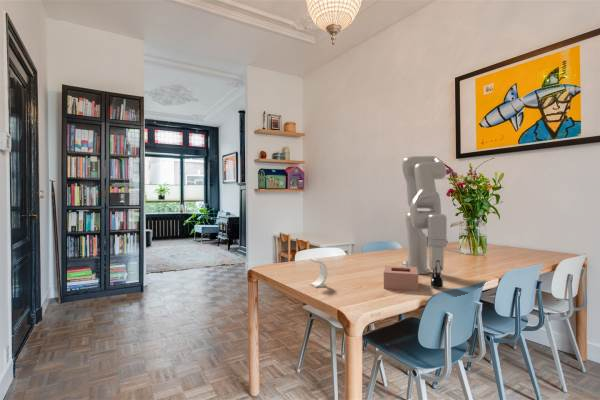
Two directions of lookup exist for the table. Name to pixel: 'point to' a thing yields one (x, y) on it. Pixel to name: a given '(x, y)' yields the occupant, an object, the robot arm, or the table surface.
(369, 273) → the table surface
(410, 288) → the coin box
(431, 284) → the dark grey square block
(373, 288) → the table surface
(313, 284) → the headphone stand
